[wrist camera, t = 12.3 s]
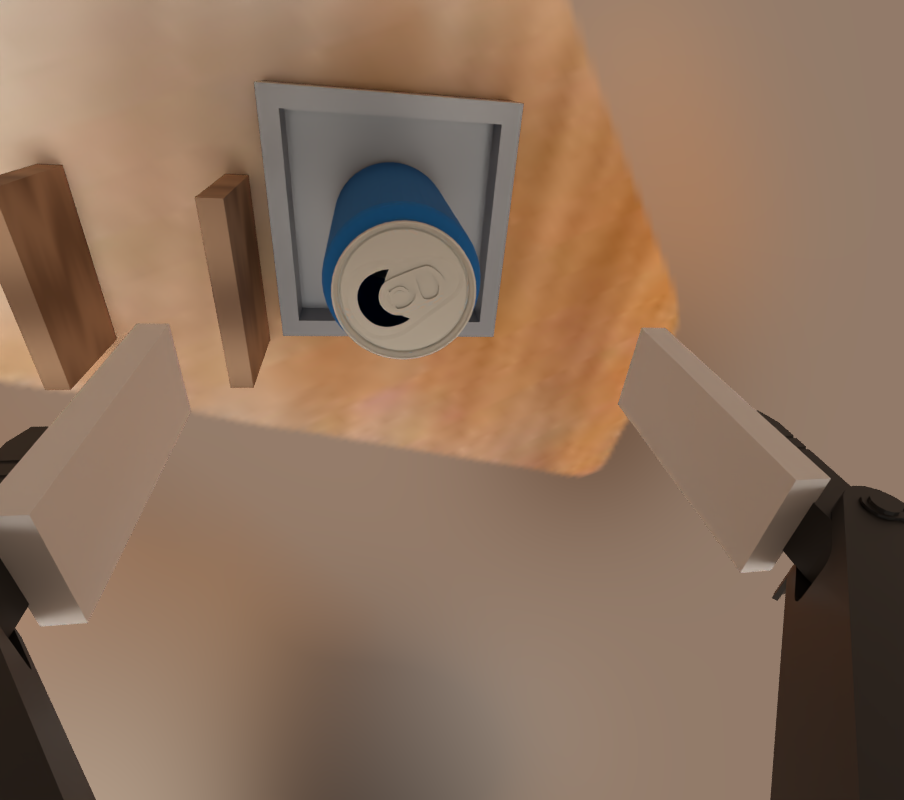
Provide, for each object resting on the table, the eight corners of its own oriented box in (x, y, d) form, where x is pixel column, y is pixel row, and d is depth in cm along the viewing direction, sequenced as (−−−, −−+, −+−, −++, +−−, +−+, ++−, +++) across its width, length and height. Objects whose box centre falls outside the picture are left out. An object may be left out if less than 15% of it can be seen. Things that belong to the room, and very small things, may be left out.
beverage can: (314, 185, 28) (286, 248, 18) (423, 141, 28) (457, 180, 18) (363, 289, 32) (362, 389, 22) (460, 252, 31) (505, 336, 21)
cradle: (36, 164, 26) (-41, 186, 21) (248, 175, 28) (223, 198, 23) (95, 339, 32) (45, 389, 27) (270, 339, 33) (253, 387, 28)
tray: (262, 80, 26) (253, 81, 24) (511, 101, 28) (523, 103, 26) (288, 318, 33) (283, 335, 31) (485, 320, 35) (493, 336, 33)
